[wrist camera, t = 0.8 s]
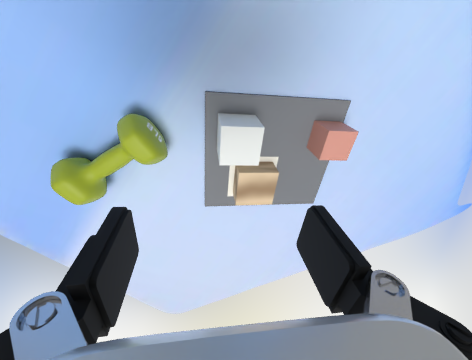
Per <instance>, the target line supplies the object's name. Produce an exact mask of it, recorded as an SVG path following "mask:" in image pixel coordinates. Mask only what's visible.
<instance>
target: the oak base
mask: <svg viewBox="0 0 472 360" xmlns="http://www.w3.org/2000/svg"><path fill="white" fill-rule="evenodd" d="M278 176H279V172H278V170H277V168H276V167H275V165H274V163H273V162H259V165H258V166H243V165H235V174H234V184H233V196H234V201H235V205H265V204H272V202H273V198H274V193H275V189H276V185H277V180H278Z"/></svg>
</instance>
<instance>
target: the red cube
mask: <svg viewBox="0 0 472 360" xmlns="http://www.w3.org/2000/svg"><path fill="white" fill-rule="evenodd" d="M357 135H358V131H356V130H354V129H353V128H351V127H349V126H347V125H346V124H344V123H342V122H338V121H314V124H313V127H312V130H311V134H310V137H309V141H308V144H307V148H308V149H309V150H310V151H311V152H312V153H313V154H314V155H315V156H316V157H317V158H318V159H319V160H347V158H348V156H349V154H350V151H351V149H352V146H353V144H354V142H355V139H356V137H357Z"/></svg>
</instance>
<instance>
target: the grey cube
mask: <svg viewBox="0 0 472 360" xmlns="http://www.w3.org/2000/svg"><path fill="white" fill-rule="evenodd" d="M264 129H265V127H264V126H263V125H262V123H261V122H260V121H259V119H258V118H257V117H256V115H247V114H225V113H218V130H217V153H218V159H219V165H243V166H258V165H259V159H260V153H261V147H262V141H263V135H264Z"/></svg>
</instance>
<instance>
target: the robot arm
mask: <svg viewBox="0 0 472 360" xmlns="http://www.w3.org/2000/svg"><path fill="white" fill-rule="evenodd" d="M297 248H298V251H299V253H300V255H301V257H302V259H303V261H304V263H305V265H306V267H307V269H308V271H309V273H310V275H311V277H312V279H313V281H314V283H315V285H316V287H317V289H318V291H319V293H320V295H321V298H322V300H323V302H324V303H325V305H326V306H328V307H329V309H330V311H331V313H340V312H343V313H344V315H339V316H327V317H317V318H308V319H297V320H286V321H277V322H266V323H257V324H248V325H238V326H228V327H218V328H209V329H201V330H191V331H181V332H173V333H164V334H155V335H147V336H139V337H131V338H123V339H116V340H110V341H106V342H99V343H96V341H97V339H98V337H103V336H107V335H108V332H109V329H110V327H114V326H115V324H116V321H117V318H118V315H119V312H120V309H121V306H122V303H123V300H124V297H125V293H126V290H127V287H128V284H129V281H130V278H131V275H132V272H133V269H134V266H135V263H136V260H137V257H138V252H139V248H138V243H137V238H136V233H135V227H134V222H133V217H132V212H131V210H127V208H126V207H113V208H112V209H111V210H110V212H109V214H108V215H107V217H106V219H105V220H104V222H103V224H102V225H101V227H100V229H99V230H98V232H97V234H96V235H92V236H90V238H89V239H88V240H87V242H86V243H85V245H84V247H83V248H82V250H81V251H80V253H79V255H78V256H77V258H76V259H75V261H74V263H73V264H72V266H71V267H70V269H69V271H68V272H67V274H66V275H65V277H64V279H63V281H62V282H61V284H60V285H59V287H58V289H57V290H56V291H55V292H48V293H43V294H41V295H39V296H37V297H35V298H33V299H31V300H30V301H28V302H27V303H26V304H25V305H23V306H22V307H21V308H20V309H19V310H18V311H17V312H16V314H15V315H14V316H13V318H12V320H11V322H10V328H9V329H7V330H5V331H4V332H2V333H1V334H0V360H472V333H471V332H470V331H469V330H468V329H467V328H466V327H465V326H463V325H462V324H461V323H459V322H457V321H456V320H454V319H453V318H451V317H449V316H447V315H445V314H443V313H441V312H439V311H438V310H436V309H434V308H432V307H430V306H428V305H426V304H424V303H423V302H420V301H419V300H417V299H415V298H413V297H411V296H410V294H409V291H408V289H407V287H406V285H405V284H404V283H403V282H402V281H401V280H400V279H399V278H397V277H396V276H395V275H393V274H391V273H389V272H386V271H383V270H376V271H374V272H373V271H372V270H371V265H370V264H369V263H368V261H367V260H366V259H365V258H364V256H363V255H362V254H361V252H360V251H359V250H358V249H357V247H356V246H355V245H354V244H353V242H352V241H351V240H350V239H349V237H348V236H347V235H346V234H345V232H344V231H343V230H342V229H341V227H340V226H339V225H338V224H337V222H336V221H335V220H334V219H333V217H332V216H331V215H330V214H329V212H328V211H327V210H326V209H325V207H324V206H311V207H310V208H309V209H308V210H307V213H306V216H305V219H304V222H303V225H302V228H301V231H300V234H299V237H298V240H297Z"/></svg>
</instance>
